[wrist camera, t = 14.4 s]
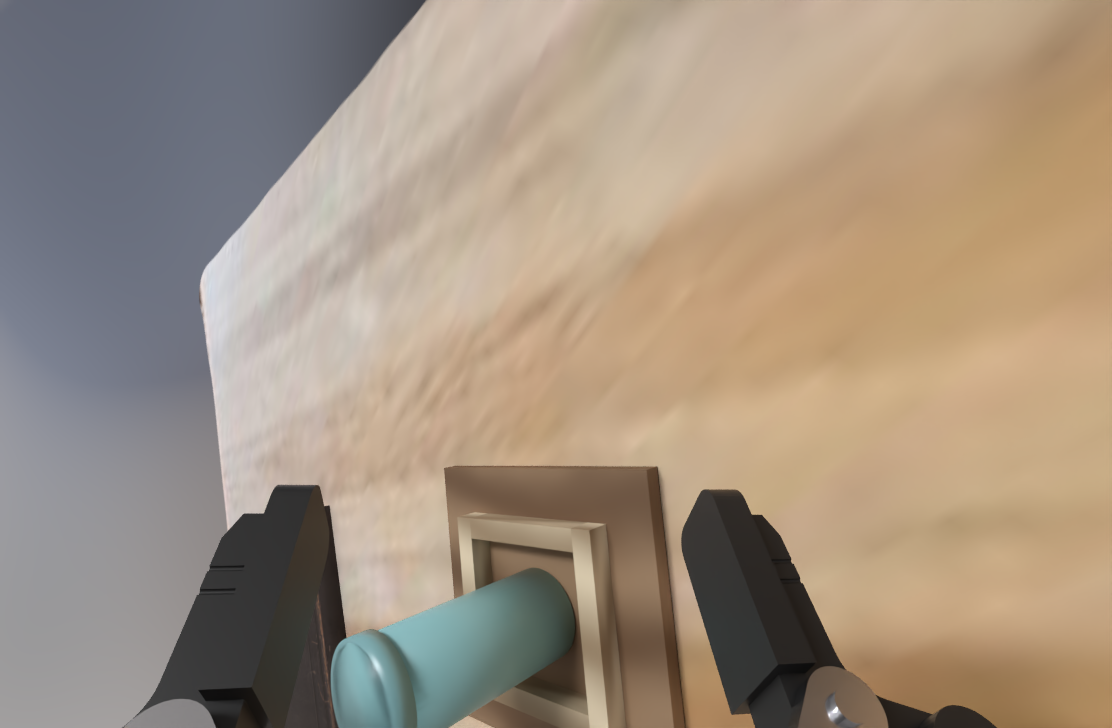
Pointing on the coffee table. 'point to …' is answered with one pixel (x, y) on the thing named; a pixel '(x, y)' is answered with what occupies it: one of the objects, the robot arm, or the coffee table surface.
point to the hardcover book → (319, 652)
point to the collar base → (577, 587)
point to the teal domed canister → (452, 655)
